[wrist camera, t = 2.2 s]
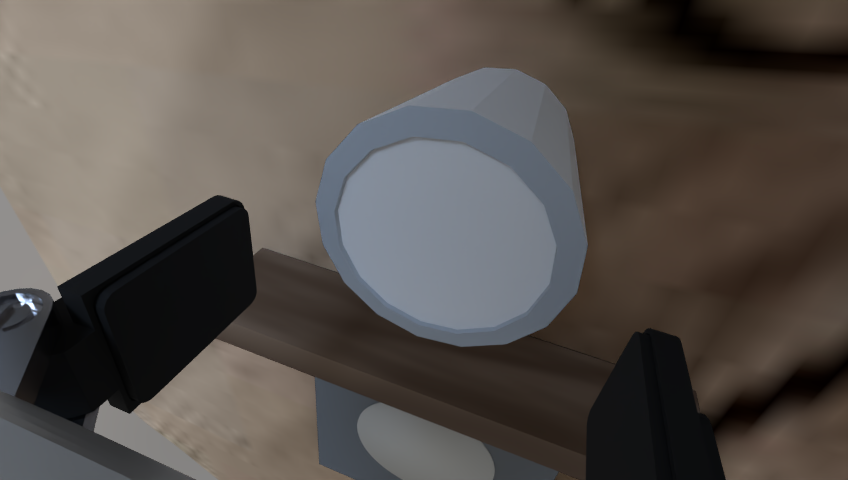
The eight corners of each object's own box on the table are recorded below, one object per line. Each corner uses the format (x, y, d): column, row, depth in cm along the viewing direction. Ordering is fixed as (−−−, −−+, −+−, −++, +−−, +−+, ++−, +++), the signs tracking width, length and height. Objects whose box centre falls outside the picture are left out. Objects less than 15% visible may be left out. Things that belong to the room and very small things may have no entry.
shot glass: (639, 134, 14) (663, 249, 9) (507, 255, 18) (467, 384, 13) (475, 0, 14) (390, 32, 8) (378, 156, 18) (279, 246, 12)
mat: (321, 317, 25) (311, 330, 24) (585, 411, 22) (585, 430, 21) (325, 451, 34) (318, 465, 33) (514, 532, 31) (512, 549, 30)
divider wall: (262, 247, 23) (193, 308, 19) (695, 391, 19) (720, 506, 15) (265, 270, 24) (200, 332, 20) (678, 411, 20) (698, 525, 16)
